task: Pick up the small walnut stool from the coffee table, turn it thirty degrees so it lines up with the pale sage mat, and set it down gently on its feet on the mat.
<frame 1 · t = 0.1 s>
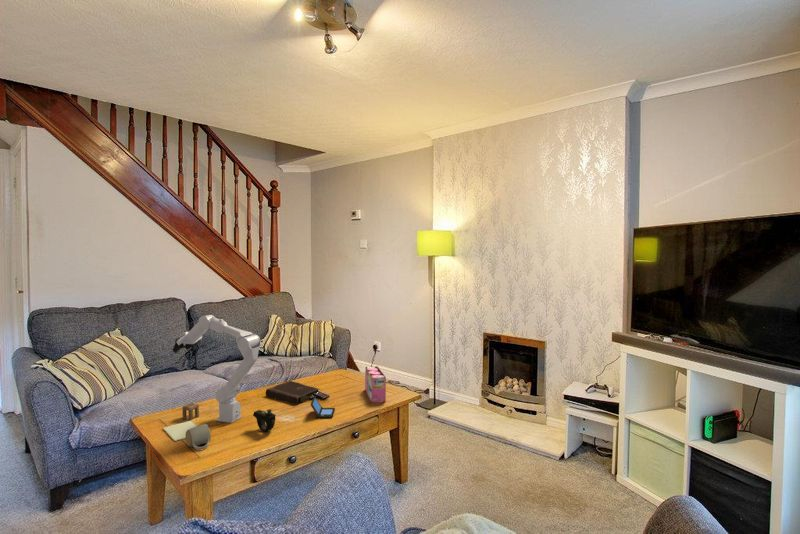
hand: (179, 349, 217), 32 cm above the table, tool tilted 50°, fingers open, 7 cm apart
mat: (183, 431, 195), on the table
handheld game console: (323, 414, 217), on the table
ceramic mug: (199, 445, 181), on the table
stool: (190, 417, 211), on the table
black media player box: (293, 397, 243), on the table
gum box: (375, 395, 245), on the table
controller: (264, 430, 197), on the table
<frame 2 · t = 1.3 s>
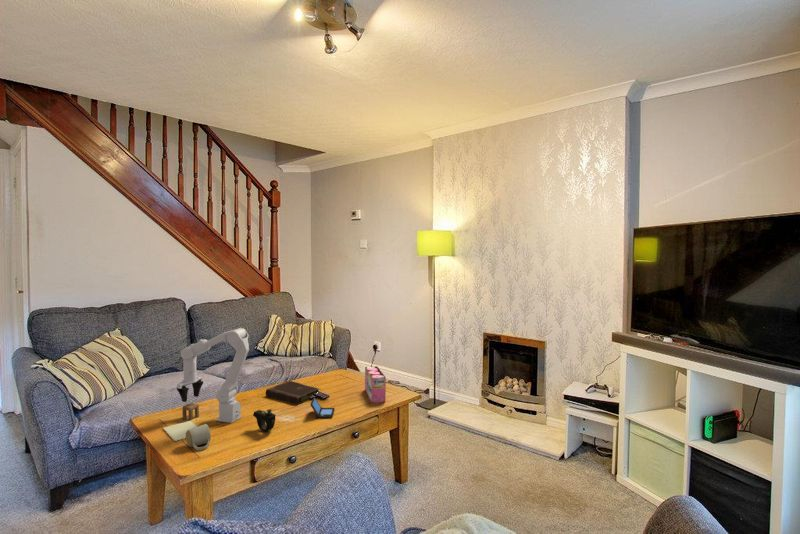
hand: (190, 398, 211), 9 cm above the table, tool pointing down, fingers open, 7 cm apart
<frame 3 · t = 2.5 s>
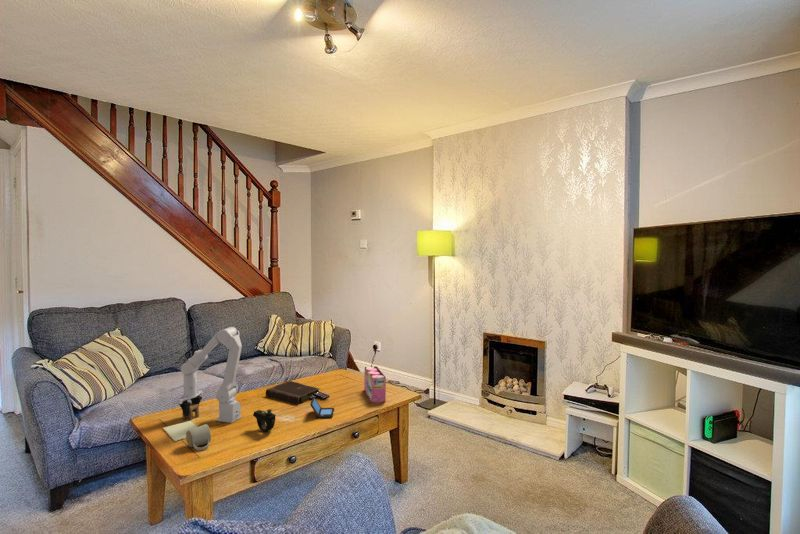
hand: (190, 413, 211), 2 cm above the table, tool pointing down, fingers closed on stool, 5 cm apart
stool: (190, 417, 211), on the table, touching gripper
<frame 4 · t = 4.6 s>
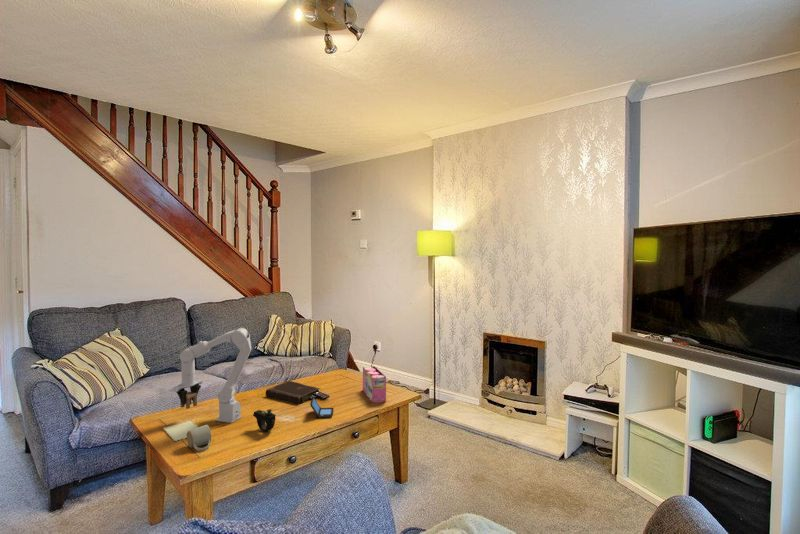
hand: (188, 402, 207), 9 cm above the table, tool pointing down, fingers closed on stool, 5 cm apart
stool: (188, 406, 207), point 7 cm above the table, touching gripper
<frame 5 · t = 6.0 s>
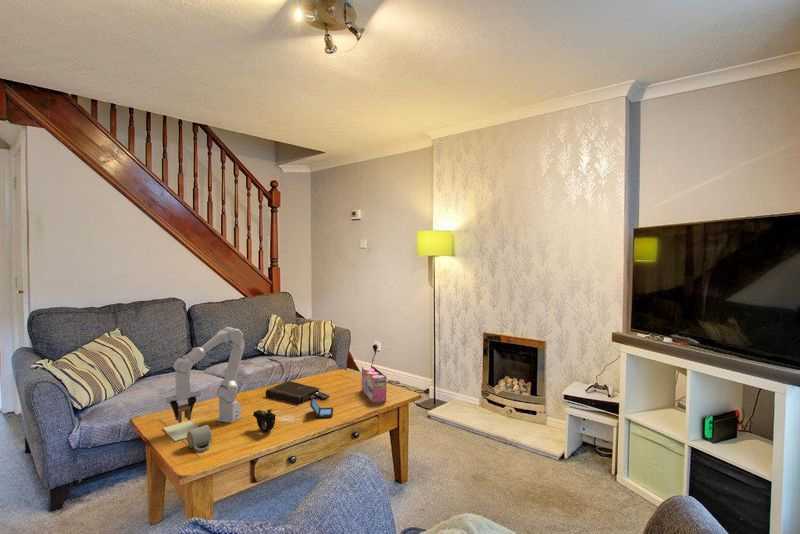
hand: (183, 415, 195), 7 cm above the table, tool pointing down, fingers closed on stool, 5 cm apart
stool: (183, 419, 195), point 5 cm above the table, touching gripper
when the fingers open (4 cm above the table, at t = 7.1 s): stool stays where it is, resting on mat.
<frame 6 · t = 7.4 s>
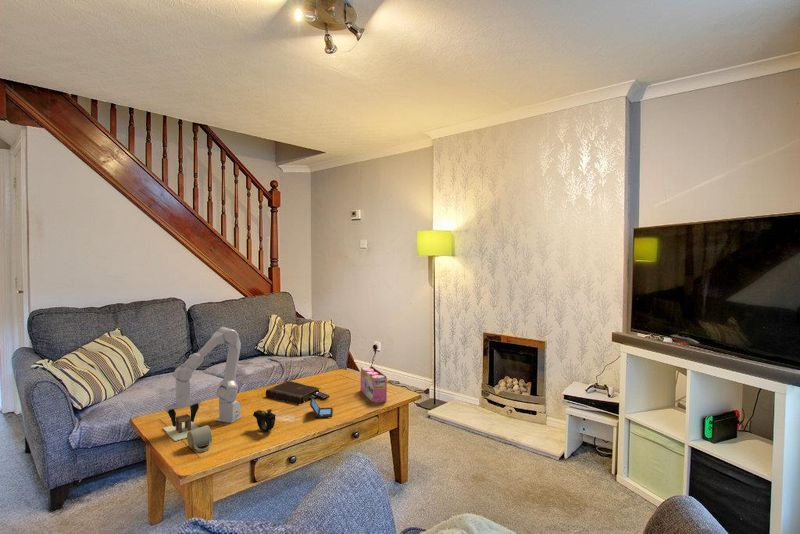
hand: (183, 423, 195), 4 cm above the table, tool pointing down, fingers open, 7 cm apart
stool: (183, 430, 195), point 1 cm above the table, touching mat
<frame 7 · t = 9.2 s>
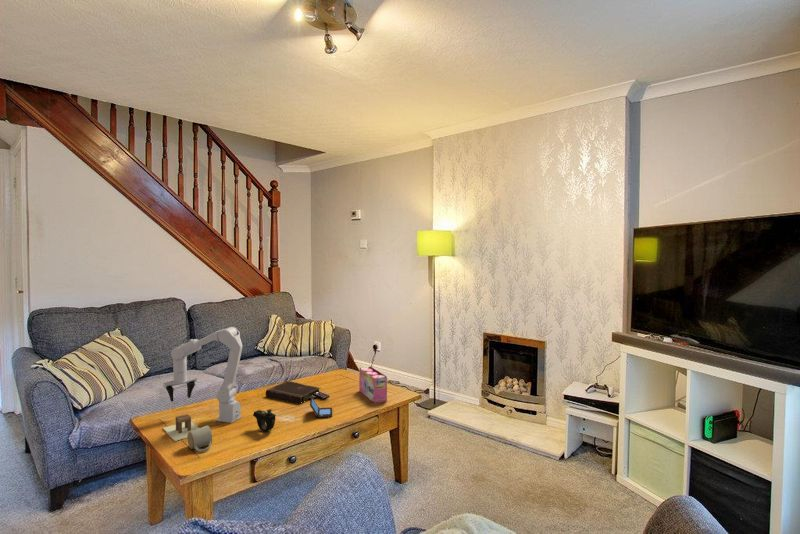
hand: (180, 399, 210), 9 cm above the table, tool pointing down, fingers open, 7 cm apart
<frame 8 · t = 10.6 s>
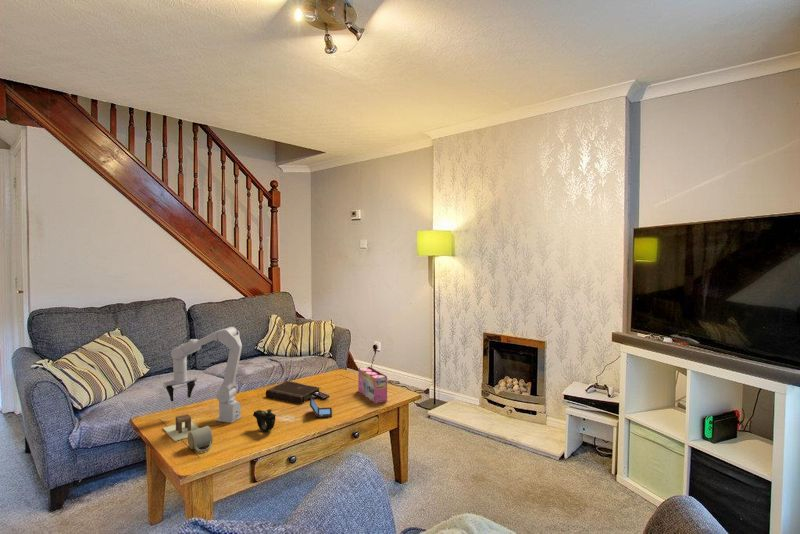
hand: (180, 399, 210), 9 cm above the table, tool pointing down, fingers open, 7 cm apart
at the end: stool inside the target area on the mat (0.0 cm from its centre), point 0.6 cm above the mat's base; stool tilted 0°; the gripper is holding nothing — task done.
